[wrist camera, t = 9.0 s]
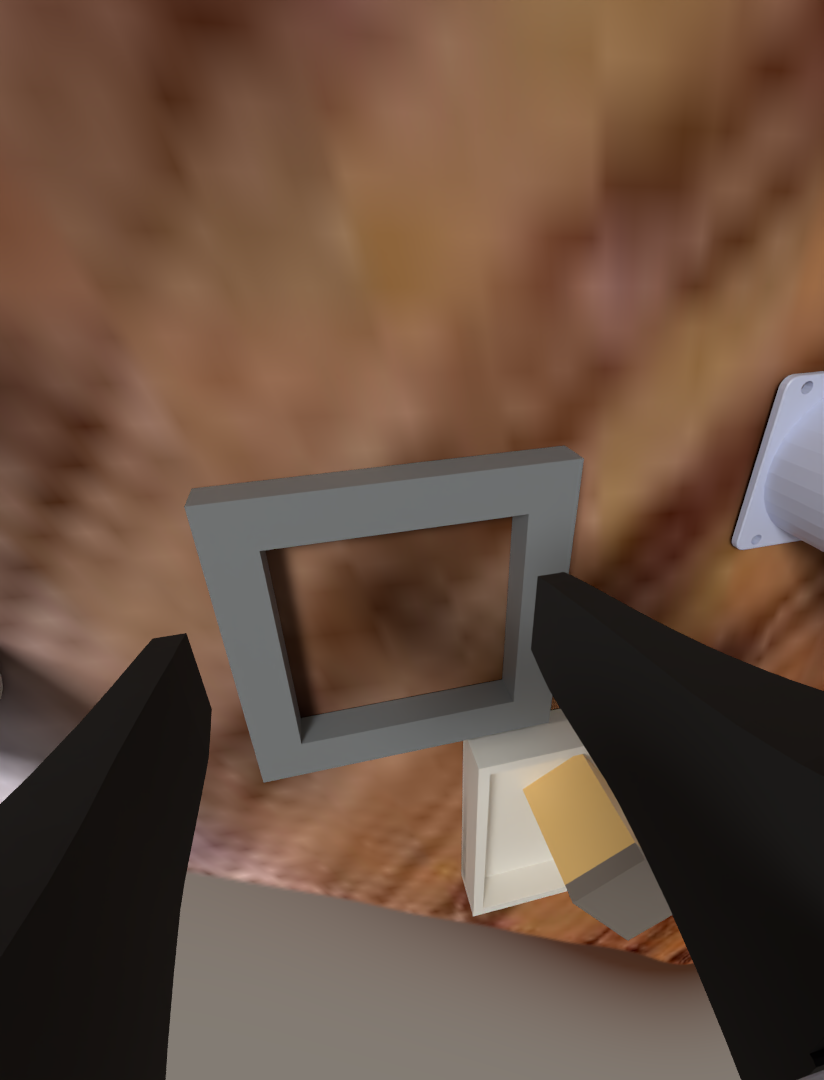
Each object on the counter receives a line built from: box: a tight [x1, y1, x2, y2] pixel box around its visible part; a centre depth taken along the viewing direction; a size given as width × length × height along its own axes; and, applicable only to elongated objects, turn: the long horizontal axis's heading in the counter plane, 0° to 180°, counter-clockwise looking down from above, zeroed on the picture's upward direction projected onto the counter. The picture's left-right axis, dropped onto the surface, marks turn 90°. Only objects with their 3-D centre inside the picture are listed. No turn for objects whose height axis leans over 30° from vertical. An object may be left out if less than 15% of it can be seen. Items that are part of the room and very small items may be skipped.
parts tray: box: [461, 709, 599, 916], centre depth 30 cm, size 14×14×2 cm
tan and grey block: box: [523, 754, 672, 940], centre depth 28 cm, size 4×7×6 cm, turn 36°
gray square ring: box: [184, 446, 584, 782], centre depth 22 cm, size 14×14×2 cm
